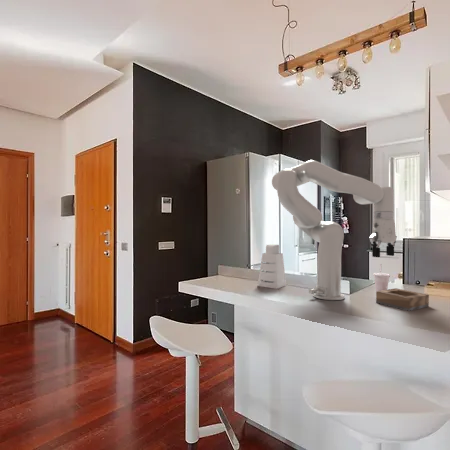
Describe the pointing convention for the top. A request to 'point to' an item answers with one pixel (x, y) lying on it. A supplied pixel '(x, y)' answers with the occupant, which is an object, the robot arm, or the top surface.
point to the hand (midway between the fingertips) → (383, 256)
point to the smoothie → (381, 280)
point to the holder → (402, 299)
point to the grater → (272, 268)
